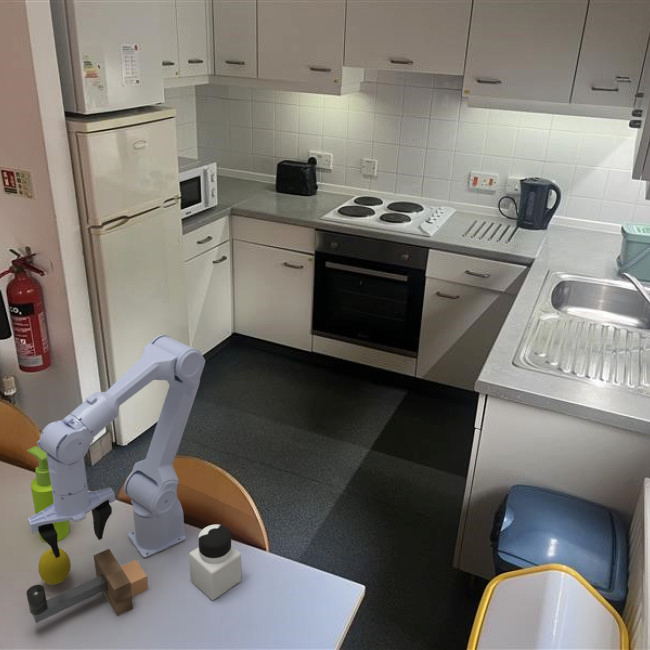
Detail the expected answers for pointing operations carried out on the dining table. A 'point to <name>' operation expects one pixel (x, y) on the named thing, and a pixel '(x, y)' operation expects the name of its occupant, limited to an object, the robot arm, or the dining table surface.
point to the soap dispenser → (45, 491)
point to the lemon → (54, 567)
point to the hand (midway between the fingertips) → (77, 544)
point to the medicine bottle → (215, 562)
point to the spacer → (135, 577)
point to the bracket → (114, 582)
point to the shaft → (62, 598)
